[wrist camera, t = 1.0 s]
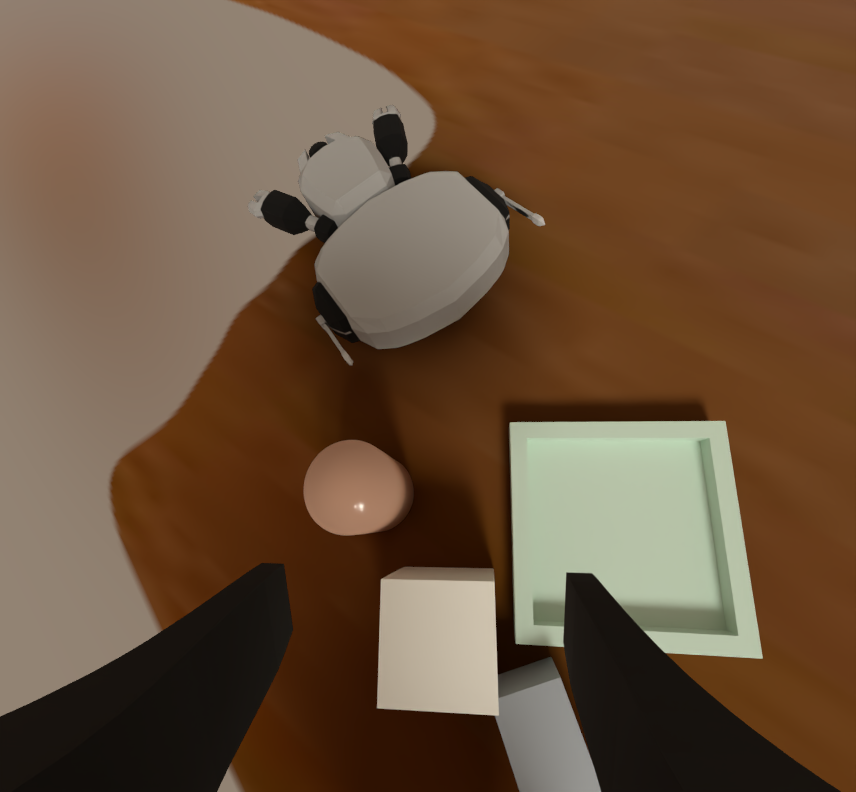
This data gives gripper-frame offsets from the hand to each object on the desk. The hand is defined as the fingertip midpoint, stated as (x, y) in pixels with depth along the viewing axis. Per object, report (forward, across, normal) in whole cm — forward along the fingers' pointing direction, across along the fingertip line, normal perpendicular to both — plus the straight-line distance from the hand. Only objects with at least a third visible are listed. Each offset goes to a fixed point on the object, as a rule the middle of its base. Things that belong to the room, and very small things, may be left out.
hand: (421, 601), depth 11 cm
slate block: (+7, -4, +12) cm, 14 cm away
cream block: (+9, 0, +8) cm, 12 cm away
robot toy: (+20, +4, -10) cm, 22 cm away
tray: (+11, -8, +4) cm, 14 cm away
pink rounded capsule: (+12, +4, +3) cm, 13 cm away
